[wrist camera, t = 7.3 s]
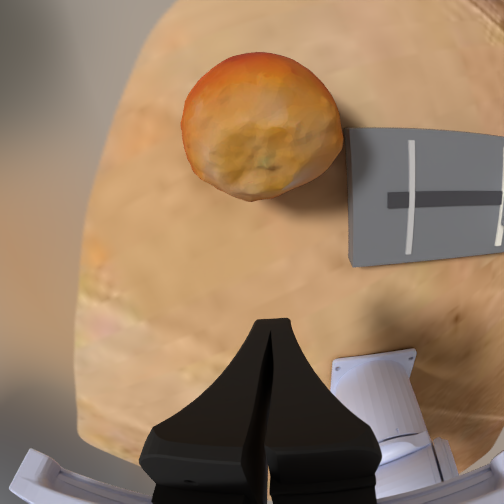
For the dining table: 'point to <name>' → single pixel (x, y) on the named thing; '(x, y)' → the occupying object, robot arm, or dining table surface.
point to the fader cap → (503, 221)
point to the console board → (423, 194)
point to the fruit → (260, 126)
